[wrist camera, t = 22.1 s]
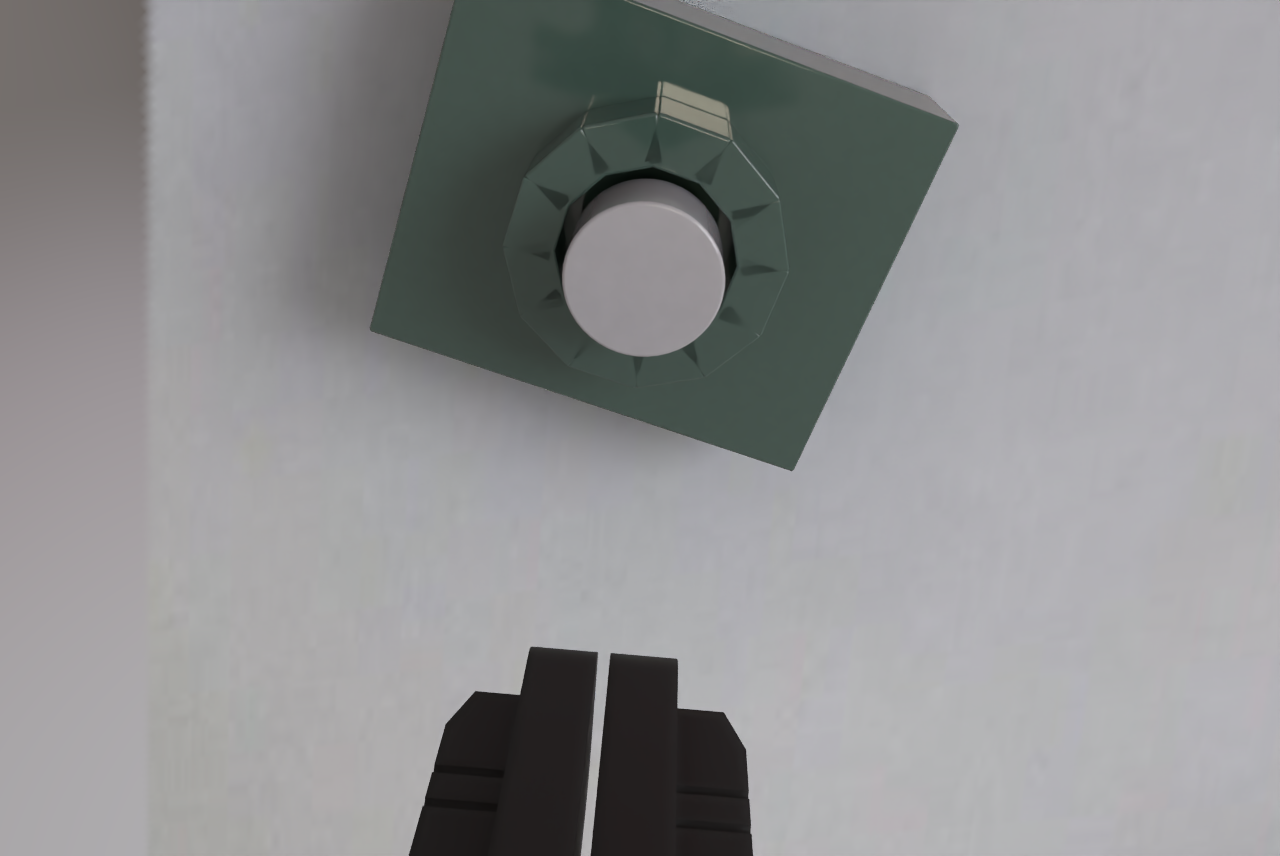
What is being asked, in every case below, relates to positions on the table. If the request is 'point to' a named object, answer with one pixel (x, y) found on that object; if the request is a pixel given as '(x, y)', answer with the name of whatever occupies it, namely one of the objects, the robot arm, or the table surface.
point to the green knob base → (670, 151)
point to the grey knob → (644, 268)
